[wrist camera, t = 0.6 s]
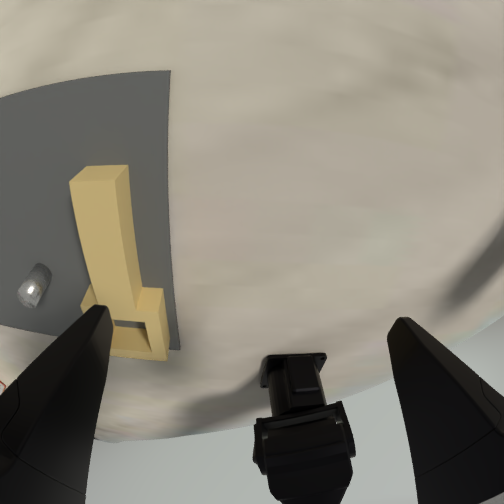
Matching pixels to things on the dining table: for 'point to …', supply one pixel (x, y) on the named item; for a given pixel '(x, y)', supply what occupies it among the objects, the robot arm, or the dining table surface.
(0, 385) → the cracker box
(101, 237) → the link
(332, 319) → the dining table surface
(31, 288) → the cylinder
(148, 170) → the mat
